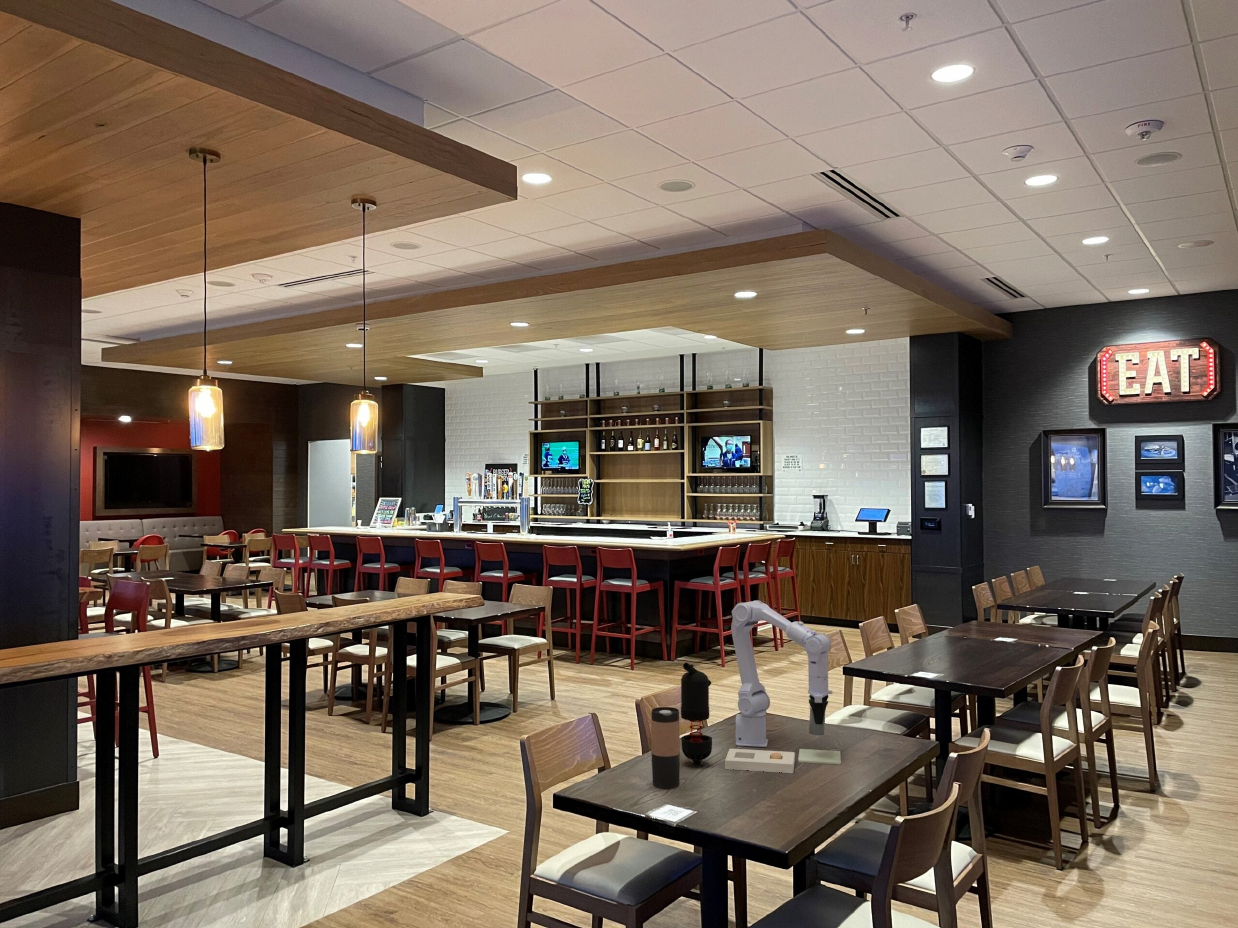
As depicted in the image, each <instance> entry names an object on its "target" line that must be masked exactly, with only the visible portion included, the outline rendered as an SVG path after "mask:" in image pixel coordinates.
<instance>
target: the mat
mask: <svg viewBox="0 0 1238 928" xmlns="http://www.w3.org/2000/svg"><path fill="white" fill-rule="evenodd" d="M797 759H798V761H797V762H798V763H806V764H809V763H810V764H822V765H823V764H826V765H839V766H840V765H841V763H842V761H841V751H840V750H825V749H811V748H810V749H807V748H799V752H798V758H797Z"/></svg>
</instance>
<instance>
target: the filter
mask: <svg viewBox="0 0 1238 928" xmlns="http://www.w3.org/2000/svg"><path fill="white" fill-rule="evenodd" d="M682 667H683V670H684V671H686V672H684V674H683V675H682V676H681V678H680V692H681V695H680V701H681V702H680V717H681V719H683V720H685V721H688V722H691V725H689V728H690V730H691V731H690V732H689V734H685V735H683V736H681V737H680V739H681V750H682V753H683V756H685V758H687V759H689V760H691V762H692V765H693V766H701V765H702V761H703V760H706V759H707V758H708V757H709V756H710V755H711V754H712V752H713V751H712V750H713V737H712V736H709V735H706V734H703V733H702V732H701V729H703V726H702V725H701V724H694V725H693V723H701V722H703V721H706V720H709V718H710V700H709V699H710V697H709V696H710V687H711V685H712V681H711V680H710V679H709V677H708V675H707V674H706V673H704V672H703V671H701V670H698V669H697V668H695V666H694V664H692V663H691V664H690V663H688V662H684V663H683V665H682ZM693 730H699V731H693Z"/></svg>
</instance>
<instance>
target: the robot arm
mask: <svg viewBox="0 0 1238 928" xmlns="http://www.w3.org/2000/svg"><path fill="white" fill-rule="evenodd" d="M731 615H732V621H731V627H730V630H731V631H730V632H731V636H732V641H733V646H734V650H735V656H736V662H737V667H738V671H739V676H740V682H741V686H740V688H739V690H738V692H737V694H738V701H737V708H738V710H739V712H740V713H736V714H735V735H734V736H735V746H738V747H739V746H741V747H742V746H743V747H755V748H756V747H760V748H762V747H763V748H767V747H768V743H769V739H768V738H767V720H766V719H767V716H766V715H767V710H768V709H769V708H770V705H771V700H770V697H769V694H768V693H767V691H766V687H765V686H764V685H763V684H762V683H761V682H760V679H759V674H758V670H757V664H756V659H755V655H754V654H755V653H754V650H753V644H752V640H751V635H750V634H751V633H750V632H751V630H752V629H753V627H754V626H755V625H756V624H757V623H759V622H763V621H765V622H766V623H768V624H770V625H772V626H774V627H776V628H777V629H779V630H781V631H783V632H785V634H786V637H787V638H788V639H789V640H791V641H792V642H794V643H796V644H798V645H799V646H800V647H802V648H804V651H805V652H806V654H807V663H808V665H807V666H808V672H807V673H808V689H807V693H808V694H809V695H808V697H809V698H808V703H809V707H810V706H811V708H812V711H813V716H814V721H815V724H821V725H822V724H823V720H824V713H825V714H826V710H827V706H828V705H829V701H828V699H829V695H833V690H829V654H828V653H829V651H830V650H831V648H832V641H831V639H830V637H829V636H828V635H827V634H825V633H823V632H822V633H817V630H815V629H810V628H809V627H808V626H806V625H804V624H805V623H804V622H803V621H802V620H801V621H798V620H797V621H793V622H791V621H790V620H788V619H787V618H786V617H784V616H783V615H781V614H780V613H778V612H777V611H775V610H774V609H772V608H771V607H769V605H768V604H767V603H763V602H762V601H761V600H758V599H757V600H753V601H752V600H751V601H747V602H738V603H737V604H736V605H735V606H734V607H733V609H732V610H731ZM825 709H826V710H825Z"/></svg>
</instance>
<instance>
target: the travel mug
mask: <svg viewBox="0 0 1238 928" xmlns="http://www.w3.org/2000/svg"><path fill="white" fill-rule="evenodd" d="M650 739H651V742H650V743H651V745H650V746H651V749H650V750H651V770H652V773H651V774H652V786H653V787H655V788H657V789H660V790H661V789H662V790H672V789H677V788H678V787H679V786H680V768H681V767H680V765H681V763H680V762H681V746H680V745H681V743H680V739H681V737H680V710H679V708H676V707H673V706H672V707H671V706H659V707H658V706H657V707H654V708H652V709H651V736H650Z"/></svg>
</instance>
